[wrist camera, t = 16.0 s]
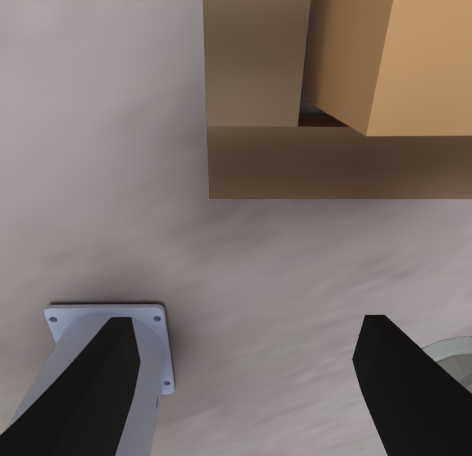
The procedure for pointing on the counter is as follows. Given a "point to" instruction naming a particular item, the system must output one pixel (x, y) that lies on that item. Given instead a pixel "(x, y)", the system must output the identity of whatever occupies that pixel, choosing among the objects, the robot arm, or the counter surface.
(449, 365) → the french press
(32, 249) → the counter surface
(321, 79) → the tan cardboard box
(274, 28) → the socket plate
